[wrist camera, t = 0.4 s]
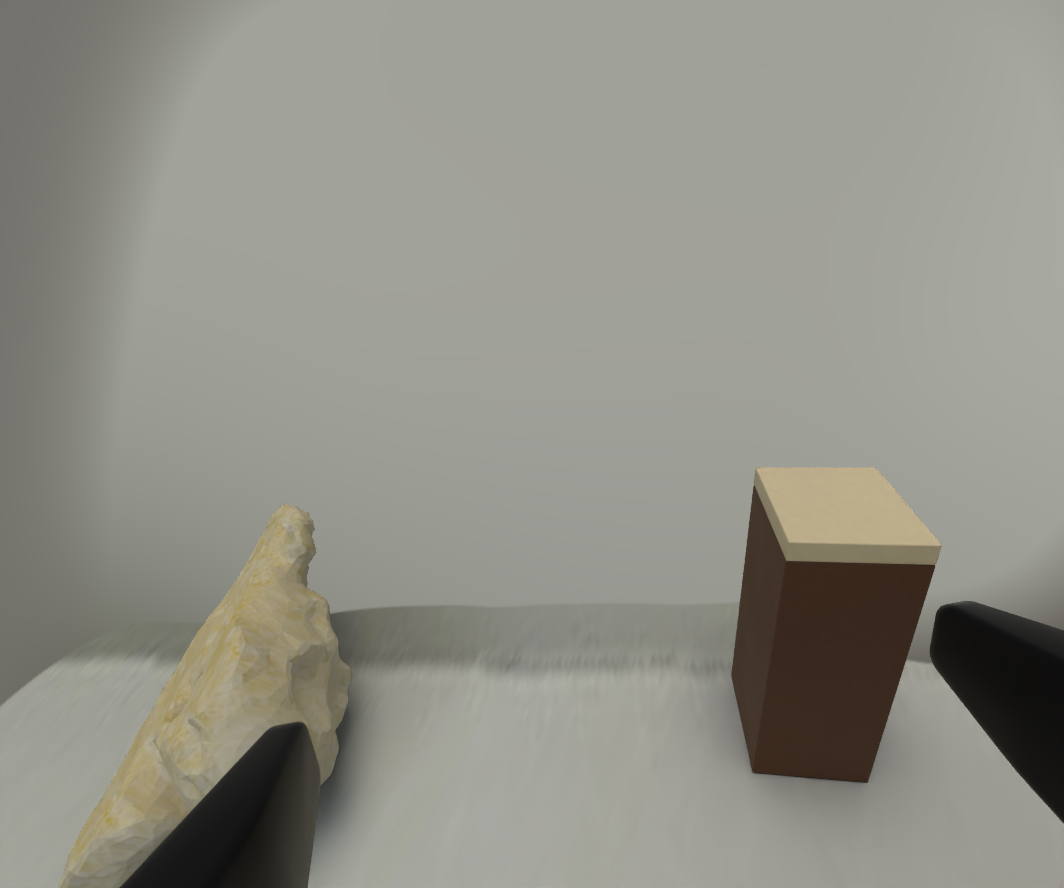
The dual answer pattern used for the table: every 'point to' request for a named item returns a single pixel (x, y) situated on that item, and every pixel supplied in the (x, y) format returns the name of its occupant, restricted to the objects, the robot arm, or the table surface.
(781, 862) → the table surface
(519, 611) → the table surface
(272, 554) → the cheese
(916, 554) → the tan and brown block
